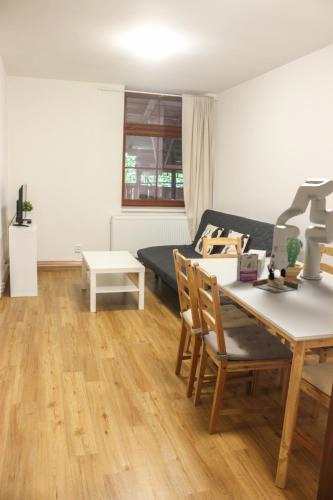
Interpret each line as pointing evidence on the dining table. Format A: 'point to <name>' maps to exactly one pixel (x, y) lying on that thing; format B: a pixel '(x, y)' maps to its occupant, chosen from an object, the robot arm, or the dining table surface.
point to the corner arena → (263, 285)
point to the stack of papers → (260, 260)
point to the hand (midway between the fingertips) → (277, 278)
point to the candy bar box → (247, 267)
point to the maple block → (276, 281)
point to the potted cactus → (293, 258)
